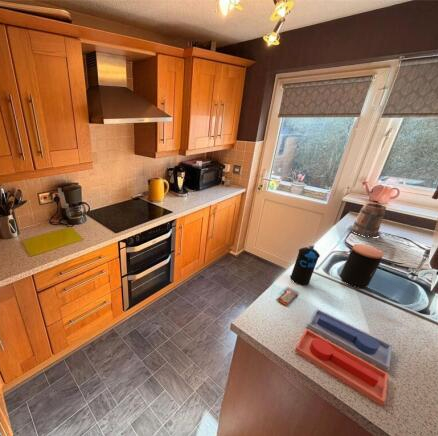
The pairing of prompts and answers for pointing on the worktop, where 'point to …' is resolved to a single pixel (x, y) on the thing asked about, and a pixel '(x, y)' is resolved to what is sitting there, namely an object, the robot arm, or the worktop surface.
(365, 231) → the tankard
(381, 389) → the red tray
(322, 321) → the blue spoon
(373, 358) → the blue tray
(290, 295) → the chocolate bar
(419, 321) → the worktop surface
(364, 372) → the red spoon
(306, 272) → the aerosol can
